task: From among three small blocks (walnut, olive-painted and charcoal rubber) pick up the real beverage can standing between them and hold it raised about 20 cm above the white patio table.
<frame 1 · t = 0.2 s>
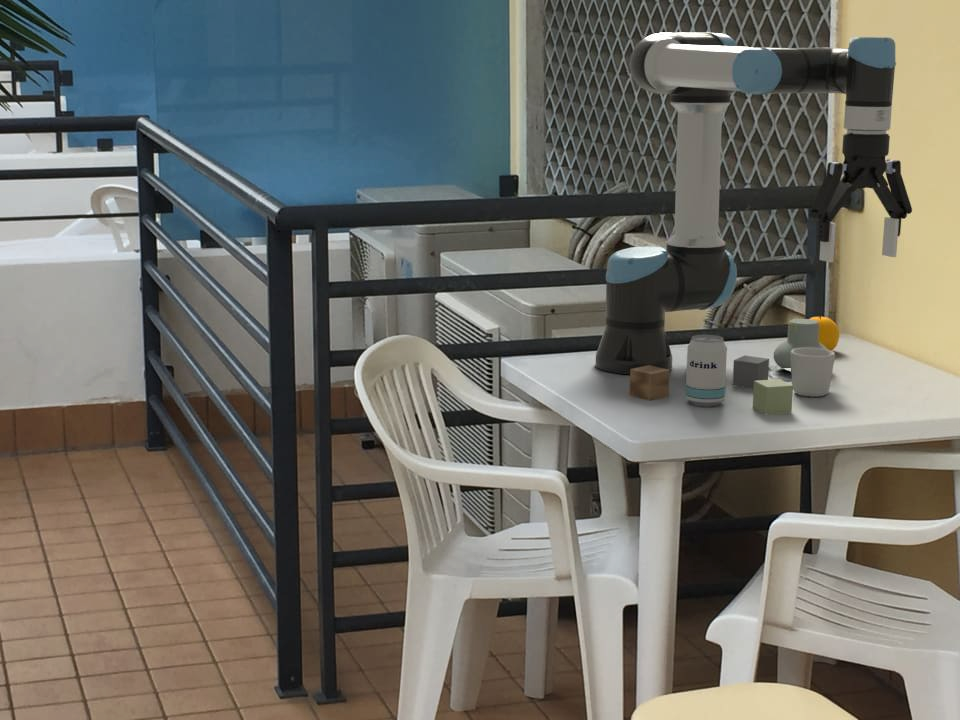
hand: (858, 258, 249), 28 cm above the table, fingers open, 13 cm apart
olive block: (771, 410, 260), on the table
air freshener: (800, 372, 289), on the table
charcoal block: (750, 385, 278), on the table
orange: (818, 352, 307), on the table
beverage can: (704, 404, 264), on the table
cup: (813, 393, 272), on the table
walnut block: (649, 396, 269), on the table
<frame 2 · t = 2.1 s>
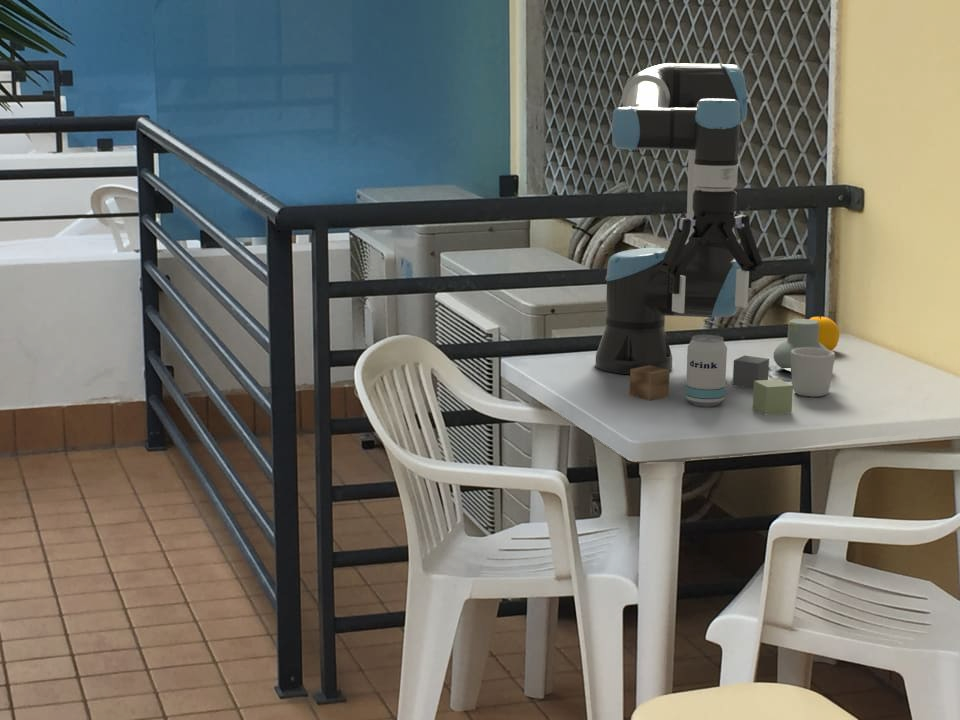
hand: (709, 309, 260), 17 cm above the table, fingers open, 13 cm apart
nothing on the table moved.
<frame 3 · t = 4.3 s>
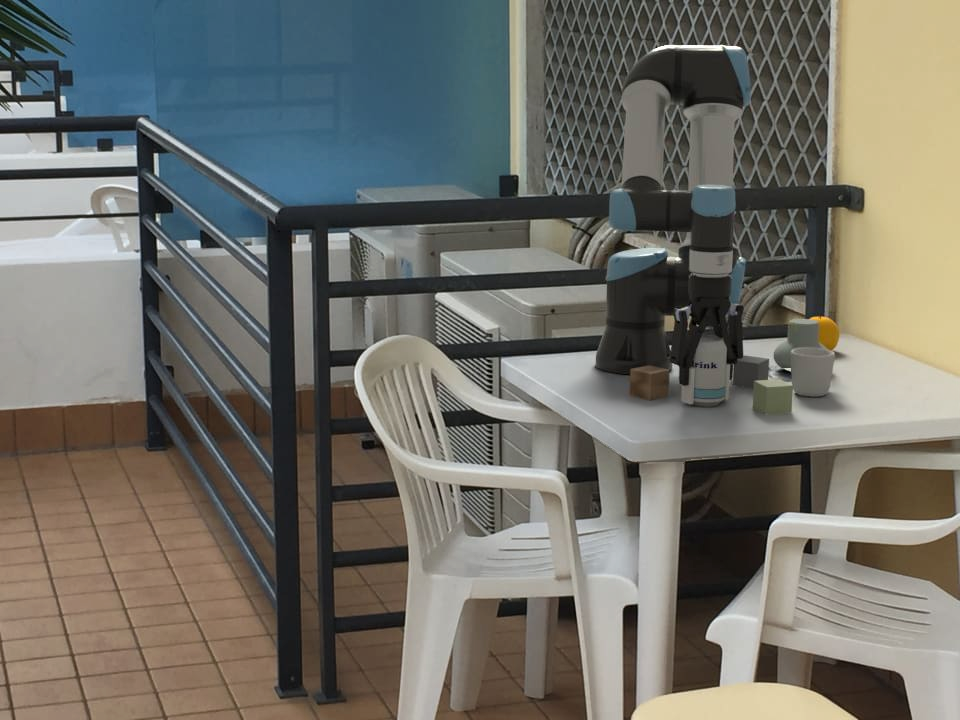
hand: (704, 400, 264), 1 cm above the table, fingers closed on beverage can, 7 cm apart
beverage can: (704, 404, 264), on the table, touching gripper
everything else where it was.
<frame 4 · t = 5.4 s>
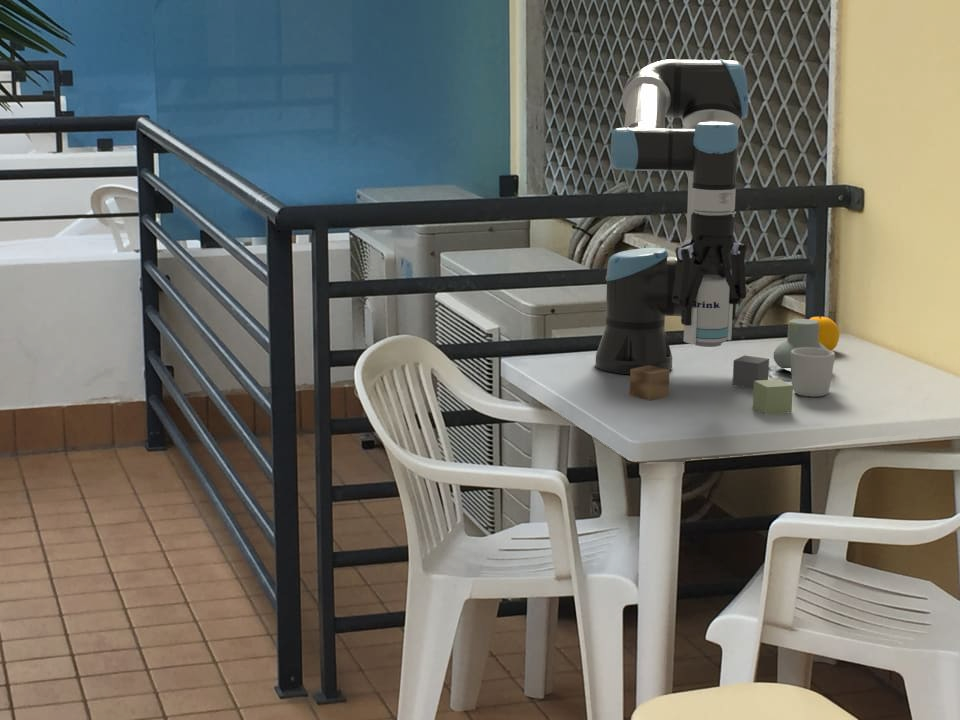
hand: (707, 340, 262), 11 cm above the table, fingers closed on beverage can, 7 cm apart
beverage can: (707, 344, 262), point 11 cm above the table, touching gripper
everything else where it was.
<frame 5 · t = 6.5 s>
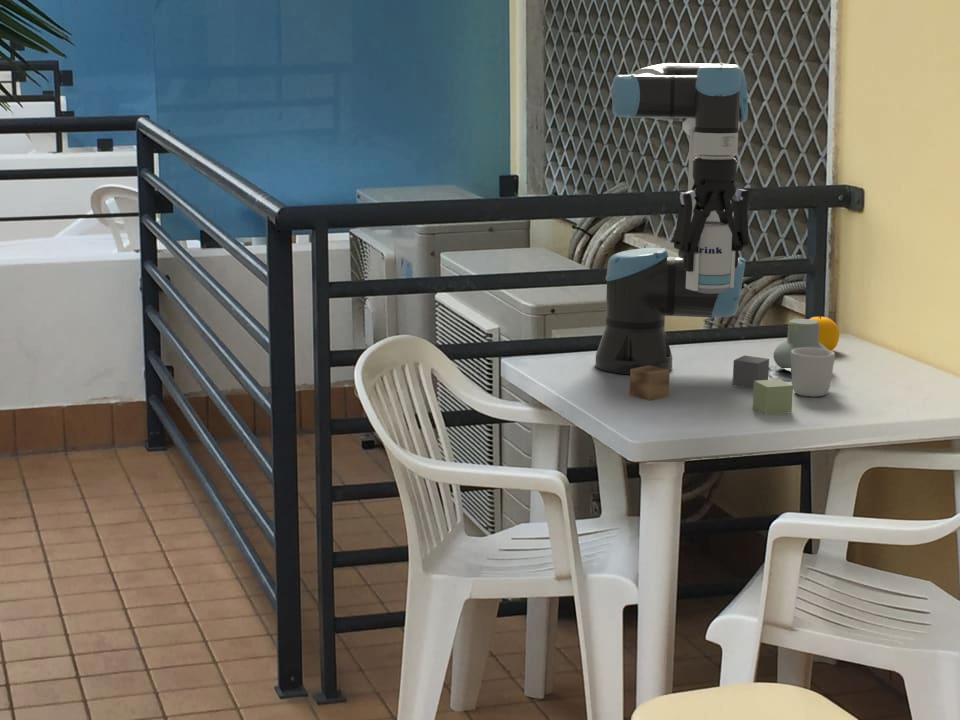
hand: (709, 287, 259), 21 cm above the table, fingers closed on beverage can, 7 cm apart
beverage can: (709, 292, 259), point 20 cm above the table, touching gripper
everything else where it was.
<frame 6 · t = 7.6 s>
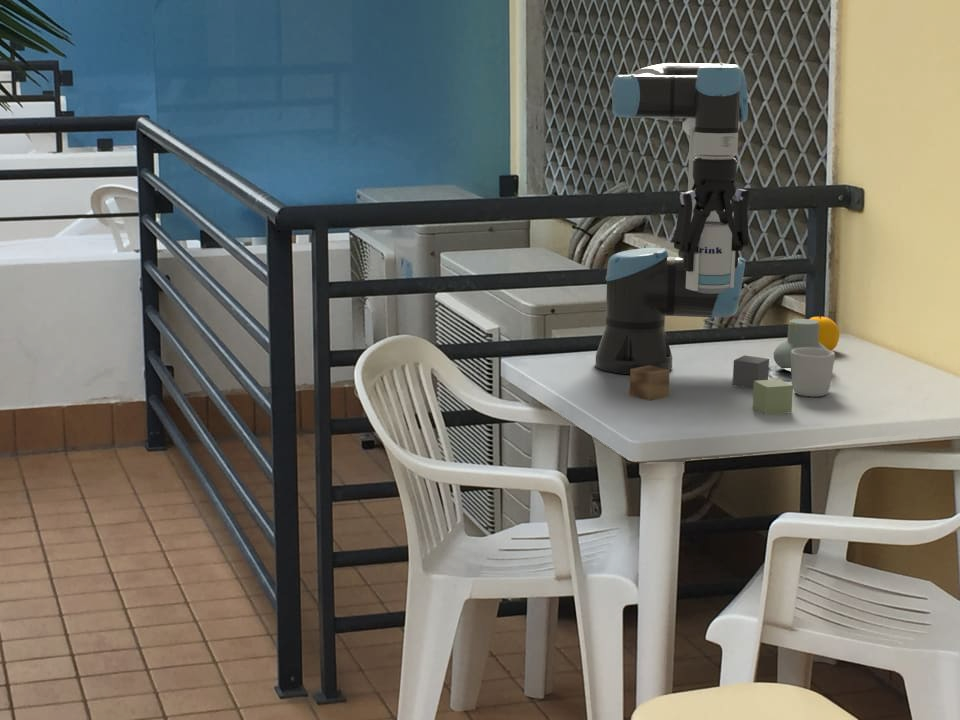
hand: (709, 287, 259), 21 cm above the table, fingers closed on beverage can, 7 cm apart
beverage can: (709, 292, 259), point 20 cm above the table, touching gripper
everything else where it was.
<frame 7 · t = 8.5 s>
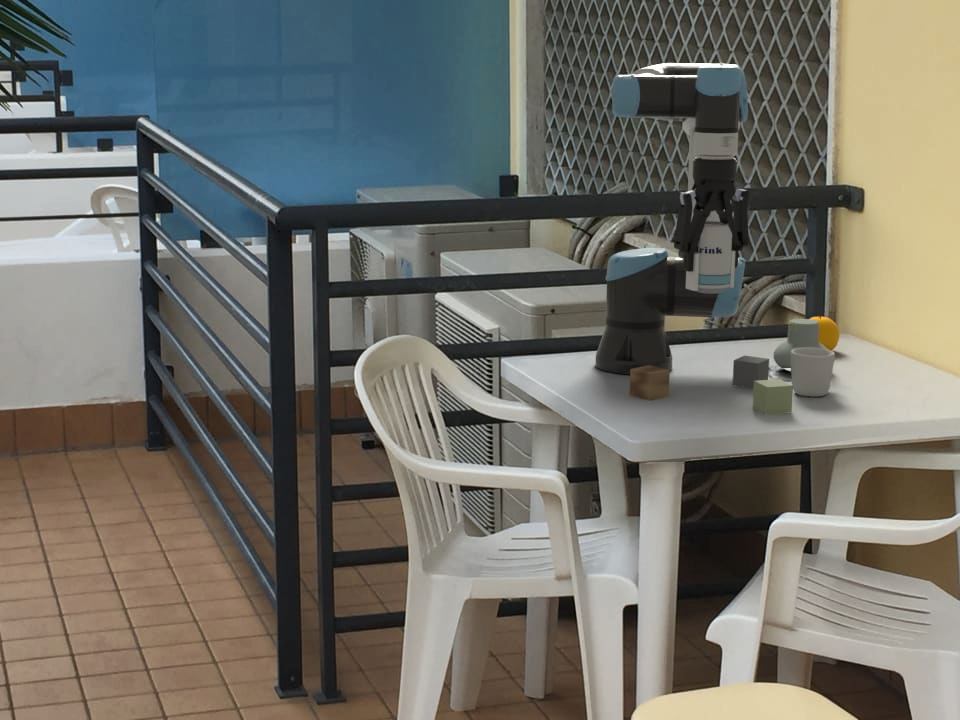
hand: (709, 287, 259), 21 cm above the table, fingers closed on beverage can, 7 cm apart
beverage can: (709, 292, 259), point 20 cm above the table, touching gripper
everything else where it was.
at the end: the gripper is holding beverage can; beverage can point 20.2 cm above the table; walnut block moved 0.1 cm from its start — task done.
